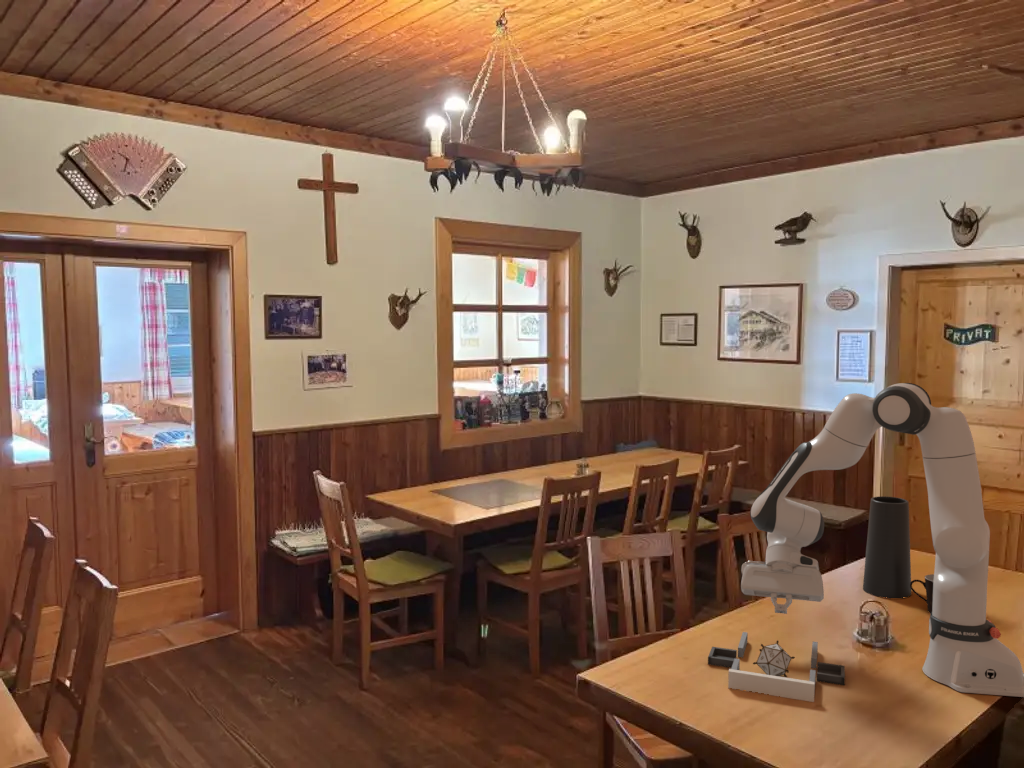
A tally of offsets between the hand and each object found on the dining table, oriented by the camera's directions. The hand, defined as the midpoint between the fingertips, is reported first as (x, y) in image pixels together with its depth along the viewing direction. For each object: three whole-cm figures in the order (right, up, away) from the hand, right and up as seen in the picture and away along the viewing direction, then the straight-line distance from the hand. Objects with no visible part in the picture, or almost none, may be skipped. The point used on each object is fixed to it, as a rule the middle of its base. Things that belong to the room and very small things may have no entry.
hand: (780, 612), depth 202 cm
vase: (+49, -7, +47) cm, 68 cm away
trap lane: (-4, -11, -8) cm, 14 cm away
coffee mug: (+55, -8, +30) cm, 63 cm away
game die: (-6, -12, -12) cm, 18 cm away
